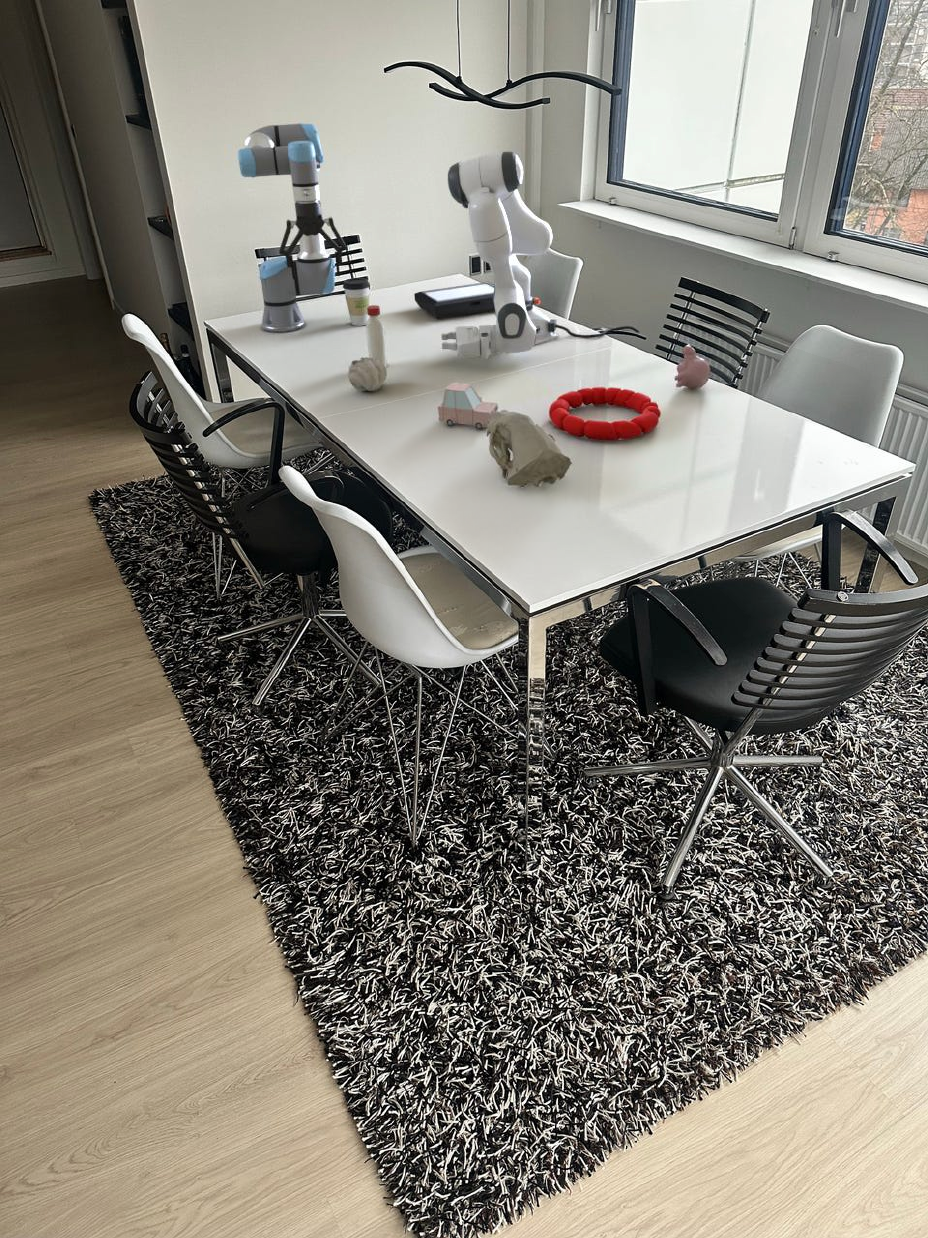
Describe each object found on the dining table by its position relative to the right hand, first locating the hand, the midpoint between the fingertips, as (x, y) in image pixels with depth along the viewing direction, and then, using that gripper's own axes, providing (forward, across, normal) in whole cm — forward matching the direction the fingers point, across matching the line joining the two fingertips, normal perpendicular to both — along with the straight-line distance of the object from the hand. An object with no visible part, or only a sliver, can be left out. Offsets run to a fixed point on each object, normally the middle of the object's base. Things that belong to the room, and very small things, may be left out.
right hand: (441, 341), depth 284 cm
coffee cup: (+30, -48, +7) cm, 57 cm away
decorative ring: (-43, +54, +7) cm, 70 cm away
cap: (+21, 0, -11) cm, 24 cm away
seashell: (+22, +22, +7) cm, 32 cm away
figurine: (-72, +32, +7) cm, 80 cm away
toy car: (-6, +51, +8) cm, 52 cm away
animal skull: (-18, +83, +8) cm, 85 cm away
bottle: (+21, 0, +7) cm, 22 cm away
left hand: (+38, -1, -21) cm, 43 cm away
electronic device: (-9, -62, +7) cm, 63 cm away
